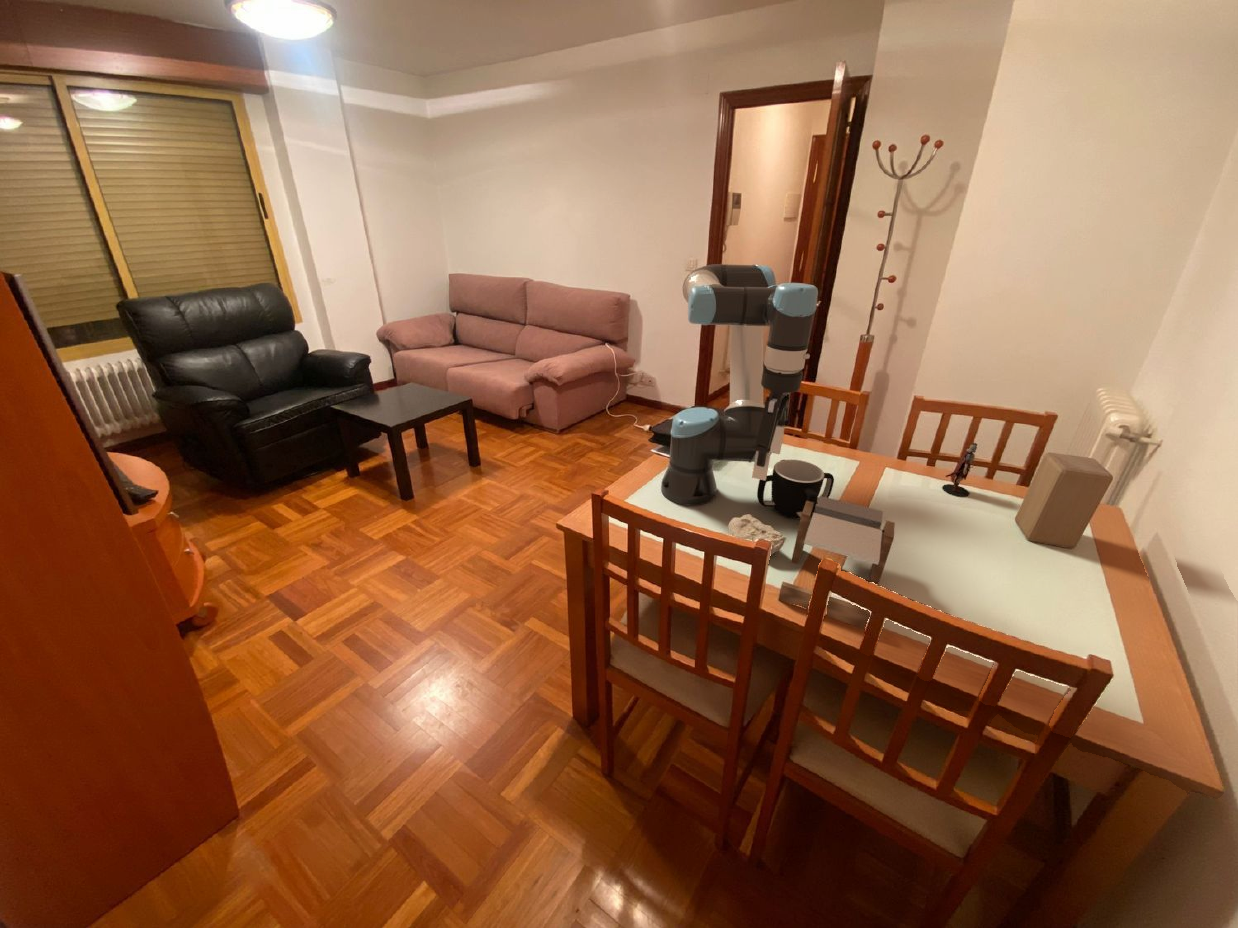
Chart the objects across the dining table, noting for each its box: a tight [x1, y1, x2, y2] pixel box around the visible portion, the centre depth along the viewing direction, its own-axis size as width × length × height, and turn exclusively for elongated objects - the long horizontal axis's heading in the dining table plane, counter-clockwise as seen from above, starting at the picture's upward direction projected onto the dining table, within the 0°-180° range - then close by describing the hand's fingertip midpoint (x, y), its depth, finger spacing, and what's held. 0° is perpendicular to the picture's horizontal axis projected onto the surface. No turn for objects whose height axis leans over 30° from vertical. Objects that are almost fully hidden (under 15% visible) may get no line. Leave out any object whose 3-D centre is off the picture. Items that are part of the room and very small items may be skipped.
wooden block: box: [1014, 452, 1114, 549], centre depth 118 cm, size 10×10×20 cm
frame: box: [777, 501, 895, 630], centre depth 102 cm, size 18×20×13 cm
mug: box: [756, 459, 835, 521], centre depth 128 cm, size 16×16×12 cm
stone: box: [727, 514, 787, 556], centre depth 115 cm, size 8×12×10 cm
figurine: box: [941, 442, 978, 498], centre depth 137 cm, size 7×7×15 cm
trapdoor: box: [804, 495, 884, 565], centre depth 104 cm, size 13×19×3 cm
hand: (766, 464), depth 107 cm, fingers open, 13 cm apart
